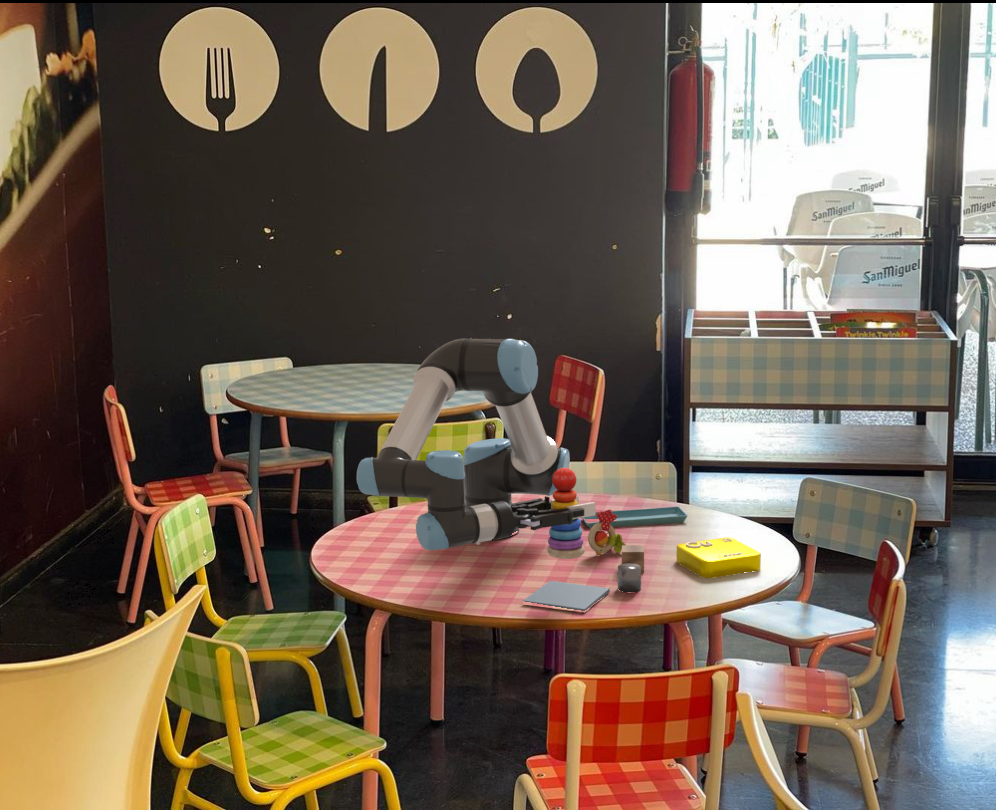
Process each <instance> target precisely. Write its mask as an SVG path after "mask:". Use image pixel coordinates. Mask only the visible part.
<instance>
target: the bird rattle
mask: <svg viewBox="0 0 996 810" xmlns="http://www.w3.org/2000/svg"><path fill="white" fill-rule="evenodd" d="M612 511H613V510H612V509H607V510H604V511H597V512H598V513H597V514H596V515H597V518H598V519H599V523H597V524H595V525H594V526H593V527H592V528H589V529H590V530H589V532H588V536H587V542H588V545H589V547H590V548H591V550H592V551H593V552H595V554H596V556H601V555H602V554H605V553H608V552H610V550H611V549H613V551H614V553H616V554H620V553H621V552H622V545H627V544H626V543H625V542H624V540H623V537H622V535H621V534H620V533H616V531H615V529H614V528H615V527H612V526H611V525H610V524H609V523H611V522H613V521H614V520H616V519H617V515H615V514H613V513H612ZM606 532H607V533H606Z"/></svg>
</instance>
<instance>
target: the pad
mask: <svg viewBox="0 0 996 810" xmlns="http://www.w3.org/2000/svg"><path fill="white" fill-rule="evenodd" d="M610 591H611V589H610V588H609V587H602V586H601V587H600V586H596V585H595V586H593V585H587V584H579V583H571V582H564V581H556V580H549V581H547V582H546V583H545V584H543V585H542V586H540V588H538V589H537V590H536V591H534V592H533V593H531V594H530V595H528V596H527V597H526V598H524V599H523V600H522V601H525V602H531V603H537V604H543V605H548V606H555V607H561V608H567V609H574V610H581V611H585V610H587V609H588V608H590V607H591V606H592V605H593V604H594V603H596V602H597V601H598V600H600V599H601V598H603V597H604V596H605V595H606V594H608V593H609V592H610ZM609 594H610V593H609ZM609 594H608V595H609ZM606 596H607V595H606ZM606 596H605V597H606ZM605 597H604V598H605ZM604 598H603V599H604ZM600 601H601V600H600Z"/></svg>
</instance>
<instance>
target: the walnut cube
mask: <svg viewBox="0 0 996 810" xmlns="http://www.w3.org/2000/svg"><path fill="white" fill-rule="evenodd" d="M621 564H637V565H639V566H641V574H645V545H635V544H634V545H633V544H632V545H629V544H628V545H627V544H626V545H622V550H621Z"/></svg>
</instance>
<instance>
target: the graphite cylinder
mask: <svg viewBox="0 0 996 810" xmlns="http://www.w3.org/2000/svg"><path fill="white" fill-rule="evenodd" d="M618 589H619V590H620V591H619V590H618ZM617 590H618V591H619V592H621V591H623V592H622V593H625V592H635V593H638V592H640V591H641V590H642V573H641V566H639V565H637V564H622V563H621V564H618V565H617Z"/></svg>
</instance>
